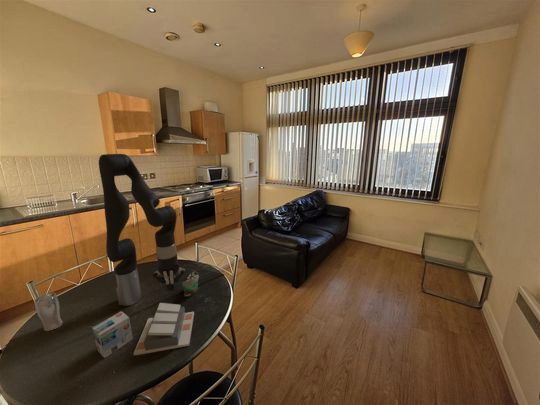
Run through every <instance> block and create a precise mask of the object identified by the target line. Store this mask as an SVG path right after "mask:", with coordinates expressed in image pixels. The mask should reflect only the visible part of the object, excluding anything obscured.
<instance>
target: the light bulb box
mask: <svg viewBox="0 0 540 405" xmlns="http://www.w3.org/2000/svg"><path fill="white" fill-rule="evenodd" d="M131 326H132V325H131V321H130V316H128V315H127V314H126V313H124V312H123V311H119V312H118V313H115V314H114V315H113V316H111V317H109V318H106V319H105V320H104V321H102V322H100V323H98V324H96V325H95V326H93V327H92V333H93V336H94V337H93V338H94V341H95V346H96V347H95V348H96V351H98V353H99V355H101V356H102V358H104V359H105V358H108V357H109V356H110V355H111V354H113V353H115V352H116V351H118V350H119V349H120V348H122V347H123V346H125V345H127V344H128V343H130V342H131V341H133V333H132V327H131Z"/></svg>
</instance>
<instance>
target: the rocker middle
mask: <svg viewBox="0 0 540 405" xmlns="http://www.w3.org/2000/svg"><path fill="white" fill-rule="evenodd" d="M155 313H156V312H155ZM155 313H154V315H155V317H154V316H153V318H154V319H153V323H168V324H176V322H177V318H178V314H173V313H156V314H155Z"/></svg>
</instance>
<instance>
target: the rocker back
mask: <svg viewBox="0 0 540 405" xmlns="http://www.w3.org/2000/svg"><path fill="white" fill-rule="evenodd" d="M180 307H182V306H181V304H178V303H177V304H176V303H175V304H174V303H166V302H159V304H158V307H157V312H162V313H173V314H179V310H180Z"/></svg>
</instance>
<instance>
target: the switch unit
mask: <svg viewBox="0 0 540 405" xmlns="http://www.w3.org/2000/svg"><path fill="white" fill-rule="evenodd" d="M185 310H186V309H185V306H184V305H183V306H180V310H179V314H178V318H177V322H176V325H175V330H174V333H173V335H148V332H149V329H150V327H151V324H168V323H153V319H154V317H155V314H156V313H162V312H157V310H155V313H154V315H153V317H149V318H147V321H146V323H145V326H144V328H143V330H142V332H141V335H140V337H139V340H138V342H137V344H136V347H135V349H134V352H133V356H140V355H146V354H151V353H157V352H161V351H165V350H166V351H167V350H172V349H177V348H183V347H188V346H190V343H191V337H192V328H193V323H194V316H195V311H191V312H190V311H189V312H186V311H185Z"/></svg>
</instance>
